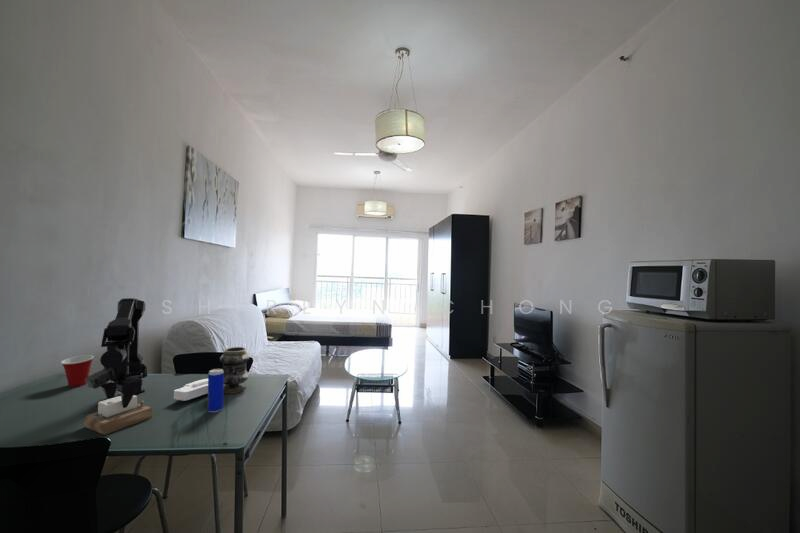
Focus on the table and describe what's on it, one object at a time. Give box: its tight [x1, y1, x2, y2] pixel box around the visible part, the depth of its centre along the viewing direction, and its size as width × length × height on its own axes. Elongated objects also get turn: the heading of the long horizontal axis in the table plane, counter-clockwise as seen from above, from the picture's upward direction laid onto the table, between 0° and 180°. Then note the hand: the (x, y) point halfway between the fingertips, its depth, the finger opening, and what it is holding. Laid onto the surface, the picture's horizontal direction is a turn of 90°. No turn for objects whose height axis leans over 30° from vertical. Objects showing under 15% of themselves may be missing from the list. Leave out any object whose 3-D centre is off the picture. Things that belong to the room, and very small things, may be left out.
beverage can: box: [207, 368, 225, 413], centre depth 129 cm, size 5×5×15 cm
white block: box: [97, 394, 138, 417], centre depth 119 cm, size 6×9×4 cm, turn 155°
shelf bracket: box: [173, 377, 227, 402], centre depth 147 cm, size 6×25×13 cm
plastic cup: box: [60, 354, 95, 388], centre depth 152 cm, size 11×11×12 cm
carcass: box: [84, 400, 153, 436], centre depth 118 cm, size 12×14×5 cm
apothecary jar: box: [219, 346, 251, 394], centre depth 150 cm, size 12×12×18 cm
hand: (117, 405), depth 118 cm, fingers open, 9 cm apart
